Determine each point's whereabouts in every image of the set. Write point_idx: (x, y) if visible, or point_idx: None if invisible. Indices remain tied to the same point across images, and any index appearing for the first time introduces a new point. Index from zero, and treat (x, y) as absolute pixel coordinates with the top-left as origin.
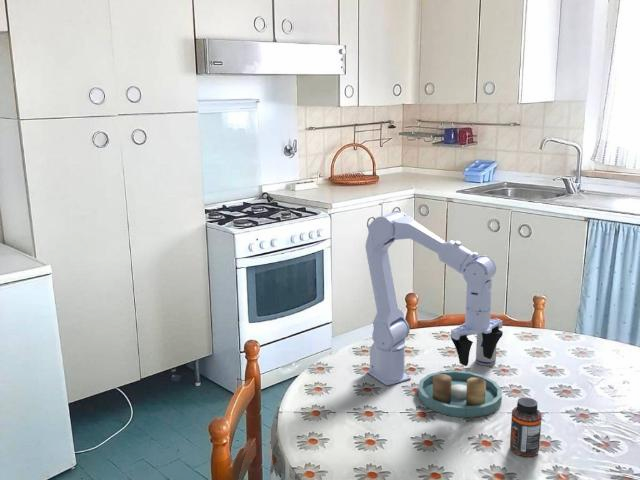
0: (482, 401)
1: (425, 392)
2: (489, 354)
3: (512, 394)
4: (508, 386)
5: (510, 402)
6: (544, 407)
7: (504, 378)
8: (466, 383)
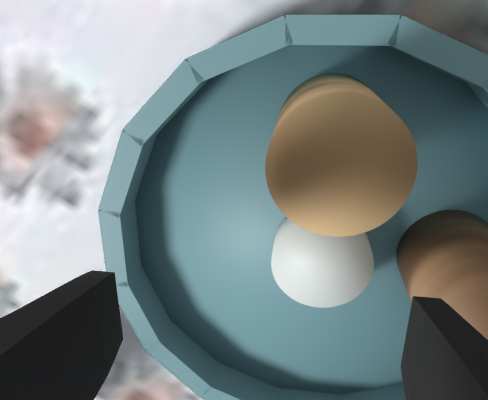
0: (333, 77)
1: None
2: (92, 303)
3: (65, 116)
4: (33, 187)
5: (129, 56)
6: None
7: (4, 250)
8: (203, 304)
